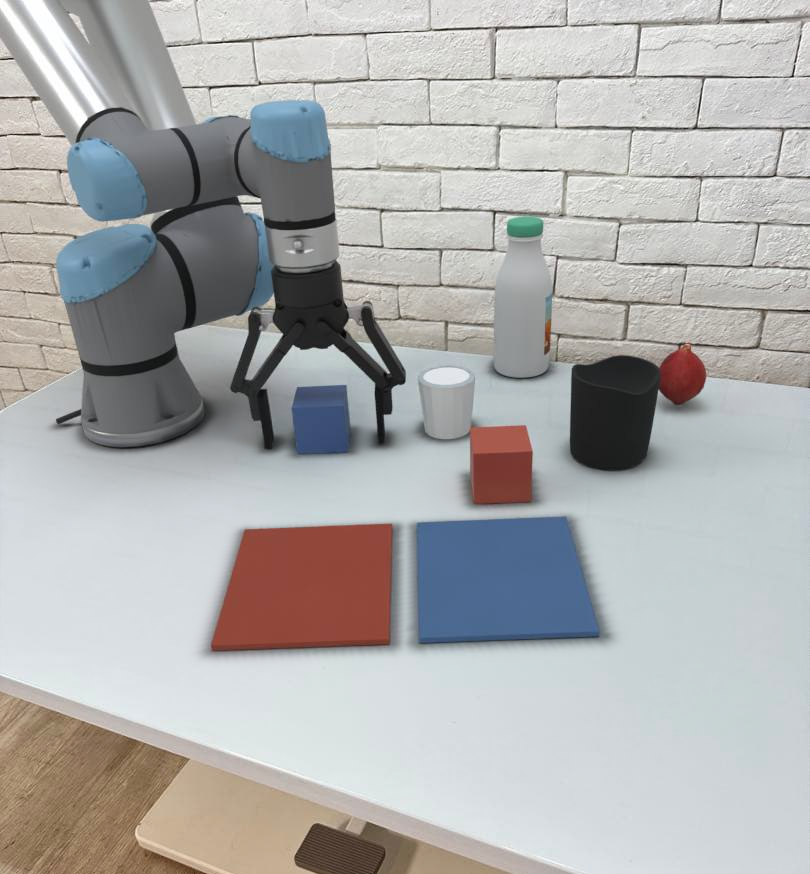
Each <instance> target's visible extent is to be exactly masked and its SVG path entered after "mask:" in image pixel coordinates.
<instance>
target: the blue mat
mask: <svg viewBox="0 0 810 874" xmlns="http://www.w3.org/2000/svg"><path fill="white" fill-rule="evenodd" d="M575 546H576V545H575V543H574V540H573V536H572V532H571V528H570V526H569V522H568V519H567V516H565V515H564V516H545V517H544V516H543V517H520V518H519V517H518V518H493V519H492V518H491V519H470V520H469V519H468V520H443V521H418V522H416V553H417V554H416V555H417V557H416V558H417V559H416V561H417V604H418V607H417V609H418V610H417V611H418V643H419V644H427V643H429V644H430V643H459V642H483V641H484V642H486V641H507V640H508V641H509V640H510V641H511V640H536V639H563V638H564V639H566V638H567V639H568V638H591V637H592V638H593V637H596V638H597V637H600V627H599V625H598V621H597V617H596V614H595V611H594V607H593V604H592V601H591V597H590V594H589V590H588V586H587V584H586V579H585V577H584V573H583V571H582V566H581V563H580V560H579V557H578V556H579V555H578V553H577V550H576V547H575Z"/></svg>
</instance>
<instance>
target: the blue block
mask: <svg viewBox="0 0 810 874" xmlns="http://www.w3.org/2000/svg"><path fill="white" fill-rule="evenodd" d="M349 407H350V406H349V397H348V387H347V384H337V385H336V384H334V385H333V384H332V385H330V384H329V385H312V386H311V385H310V386H297V387H296V389H295V393H294V397H293V400H292V404H291V407H290V408H291V415H292V416H291V417H292V425H293V431H294V438H295V439H294V440H295V446H296V453H297V455H311V454H333V453H336V454H337V453H348V452H349V446H350V439H351V431H352V429H351V418H350V408H349Z"/></svg>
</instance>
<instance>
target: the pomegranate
mask: <svg viewBox="0 0 810 874" xmlns="http://www.w3.org/2000/svg"><path fill="white" fill-rule="evenodd" d="M658 367H659V369H660V370H661V378H660V384H659V390H658V392H660V393H661V395H662V396H663V397H664V398H665V399H667V400H668V401H669V402H671V403H672V404H674V405H675V406H682V405H684V404H685V403H686V402H688V401H690V400H691V399H694V398H695V397H697V396H698V395H699V394H700V393H701V392H702V390H703V389H704V387H705V384H706V380H707V369H706V366H705V364H704V362H703V361H702V360H701V358H700V357H699V356H698V355H697V353H694V352H693V351H692V345H691V343H685V344H683V345H682V346H681V347H679V348H678V349H677V350H675V351H673V352H671V353H670V354H668V355H667V356H666V357H665V358H664V359H663V360H662V361H661V363H660V365H659V366H658Z"/></svg>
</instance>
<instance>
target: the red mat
mask: <svg viewBox="0 0 810 874" xmlns="http://www.w3.org/2000/svg"><path fill="white" fill-rule="evenodd" d="M392 554H393V523H391V522H390V523H369V524H345V525H322V526H321V525H320V526H319V525H318V526H295V527H269V528H248V529H247V528H246V529H243V534H242V537H241V542H240V544H239V547H238V550H237V555H236V559H235V561H234V565H233V568H232V572H231V575H230V578H229V582H228V585H227V588H226V592H225V596H224V598H223V603H222V606H221V609H220V612H219V615H218V619H217V622H216V627H215V630H214V633H213V637H212V640H211V644H210V648H211V651H238V650H239V651H240V650H241V651H242V650H266V649H292V648H293V649H294V648H321V647H322V648H323V647H347V646H377V645H379V646H380V645H390V637H391V636H390V635H391V634H390V631H391V595H392V594H391V592H392V562H393V561H392V560H393V559H392V557H393V556H392Z"/></svg>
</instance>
